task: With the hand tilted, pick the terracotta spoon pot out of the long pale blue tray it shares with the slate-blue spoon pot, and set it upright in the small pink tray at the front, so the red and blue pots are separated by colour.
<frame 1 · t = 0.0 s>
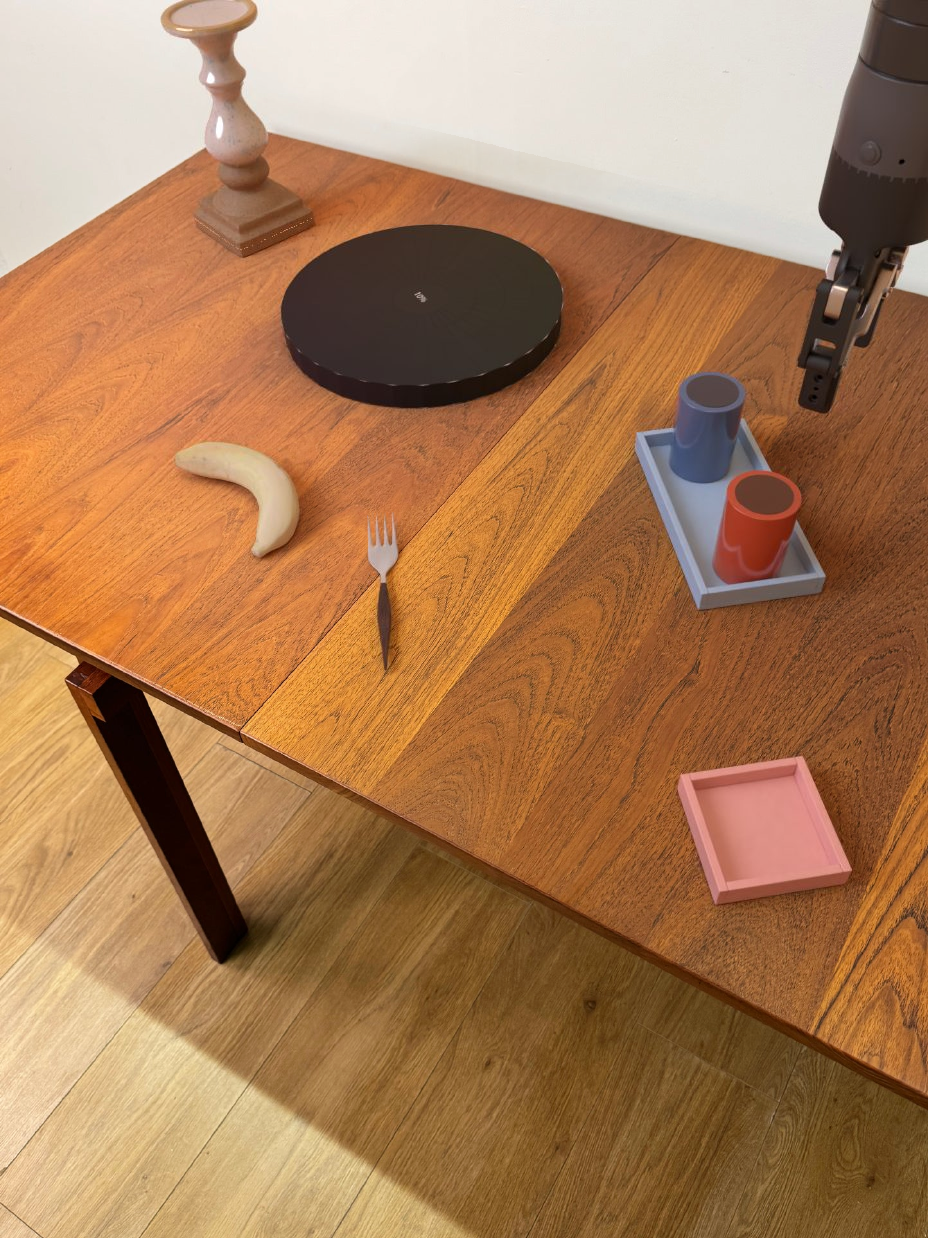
hand: (834, 374, 70), 18 cm above the table, tool pointing down, fingers open, 8 cm apart
candle holder: (255, 226, 123), on the table
blue tray: (720, 515, 87), on the table
fruit: (239, 503, 91), on the table
blue spoon pot: (699, 462, 91), resting on blue tray
pink tray: (757, 834, 67), on the table
red spoon pot: (746, 565, 82), resting on blue tray
disc: (423, 322, 108), on the table
fork: (384, 599, 83), on the table
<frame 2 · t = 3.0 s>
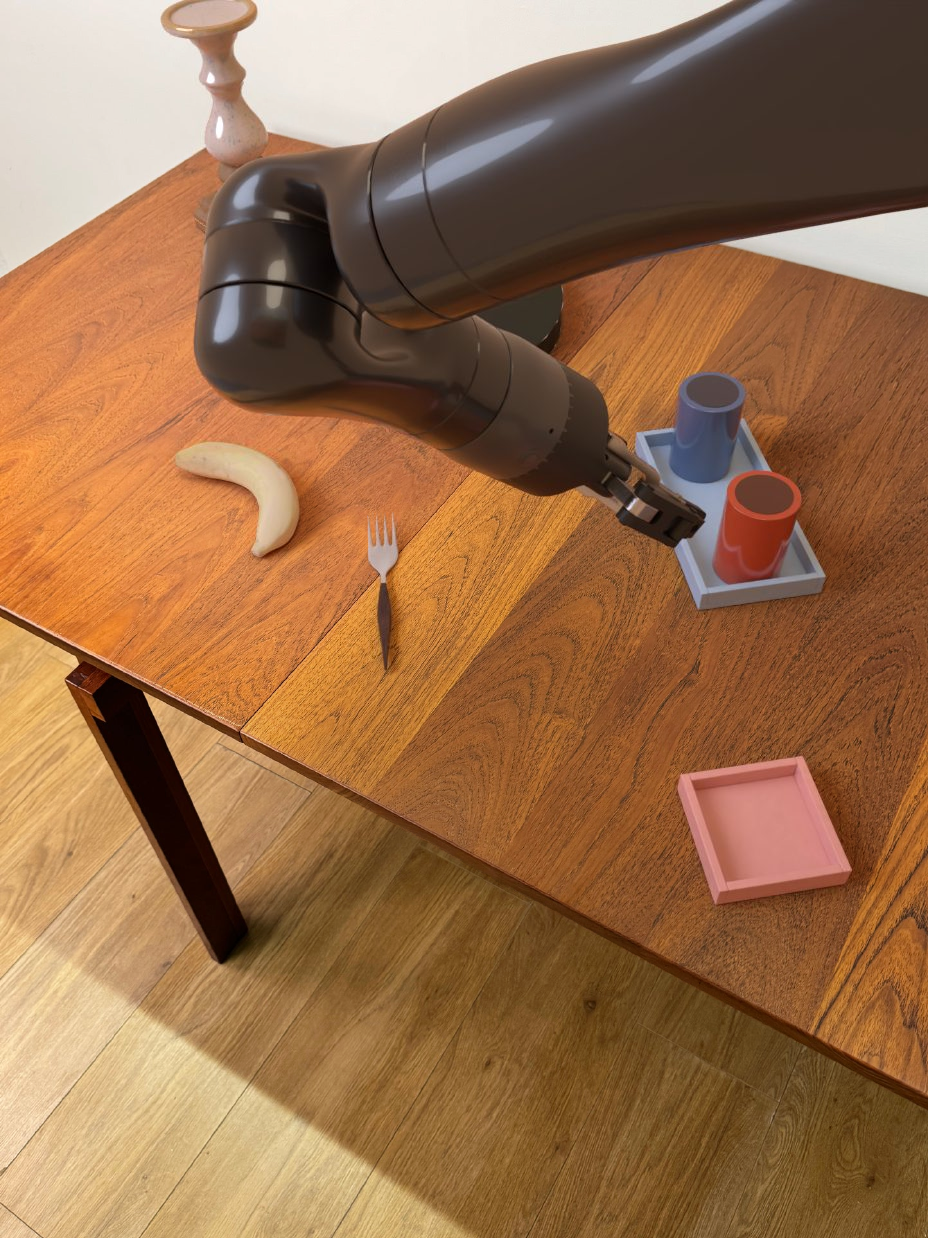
hand: (654, 487, 68), 15 cm above the table, tool tilted 45°, fingers open, 8 cm apart
nothing on the table moved.
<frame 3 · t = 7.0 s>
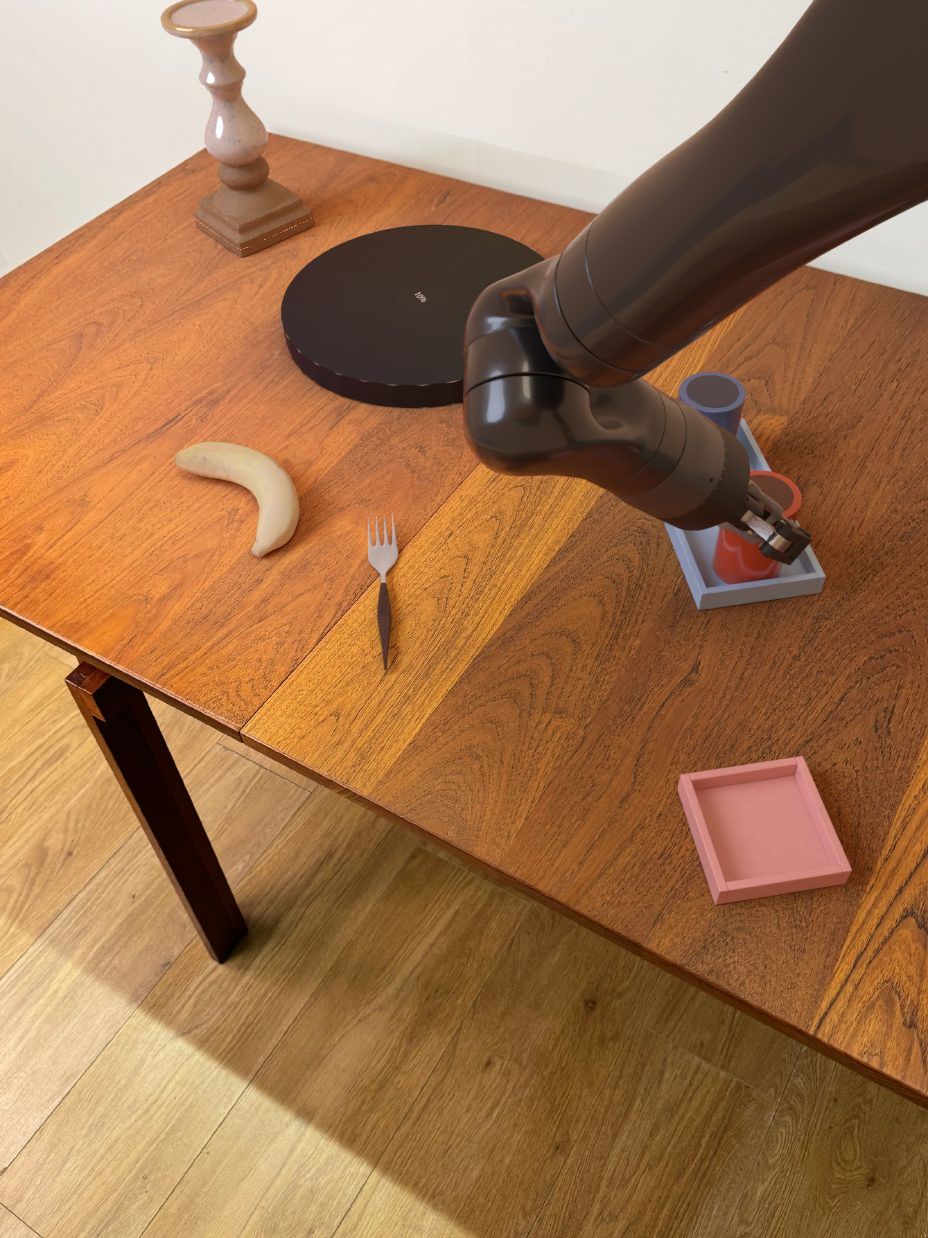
hand: (772, 520, 80), 5 cm above the table, tool tilted 45°, fingers closed on red spoon pot, 5 cm apart
red spoon pot: (746, 565, 82), point 1 cm above the table, touching blue tray, gripper
everything else where it was.
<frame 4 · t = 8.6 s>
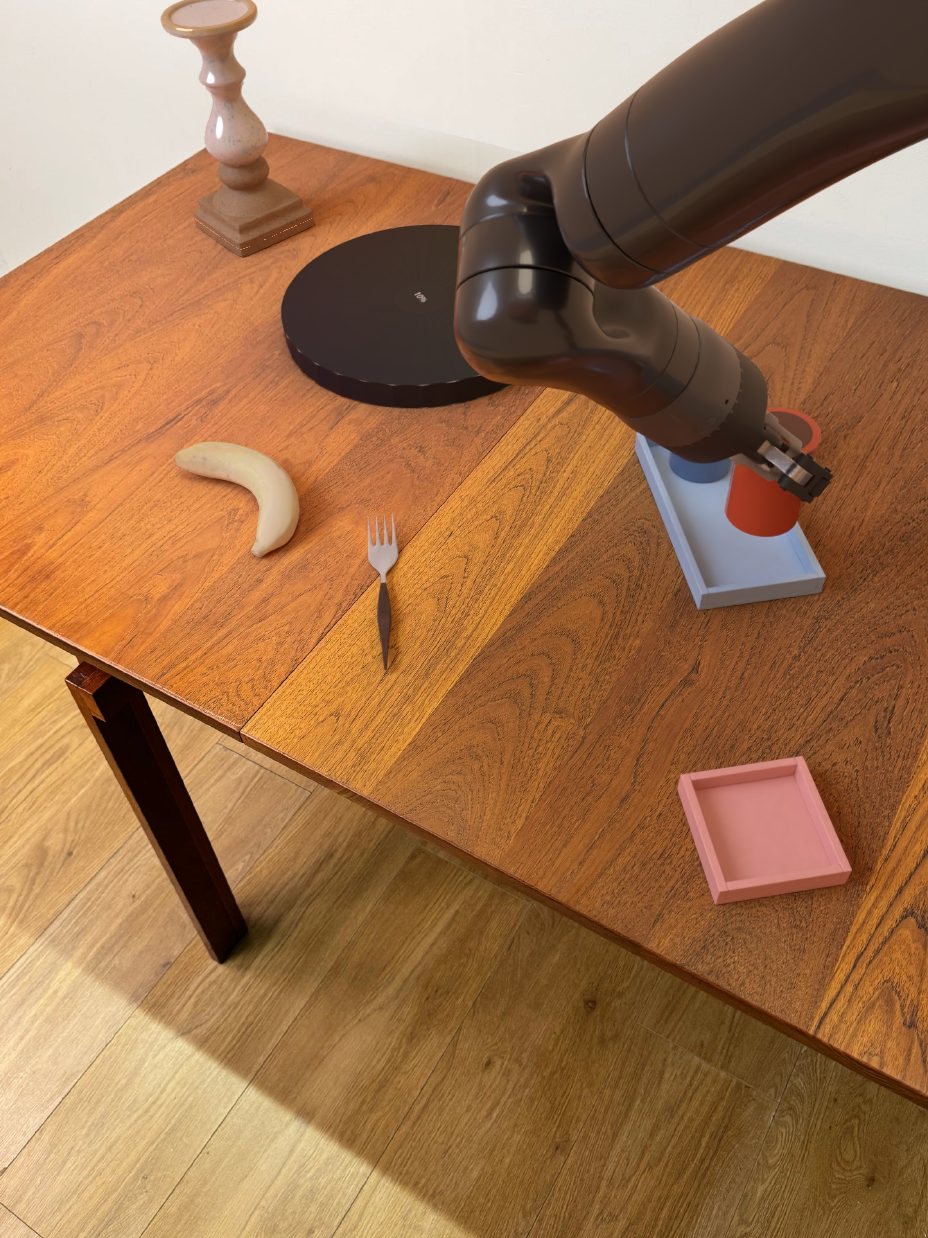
hand: (788, 461, 75), 11 cm above the table, tool tilted 45°, fingers closed on red spoon pot, 5 cm apart
red spoon pot: (761, 511, 78), point 7 cm above the table, touching gripper
everything else where it was.
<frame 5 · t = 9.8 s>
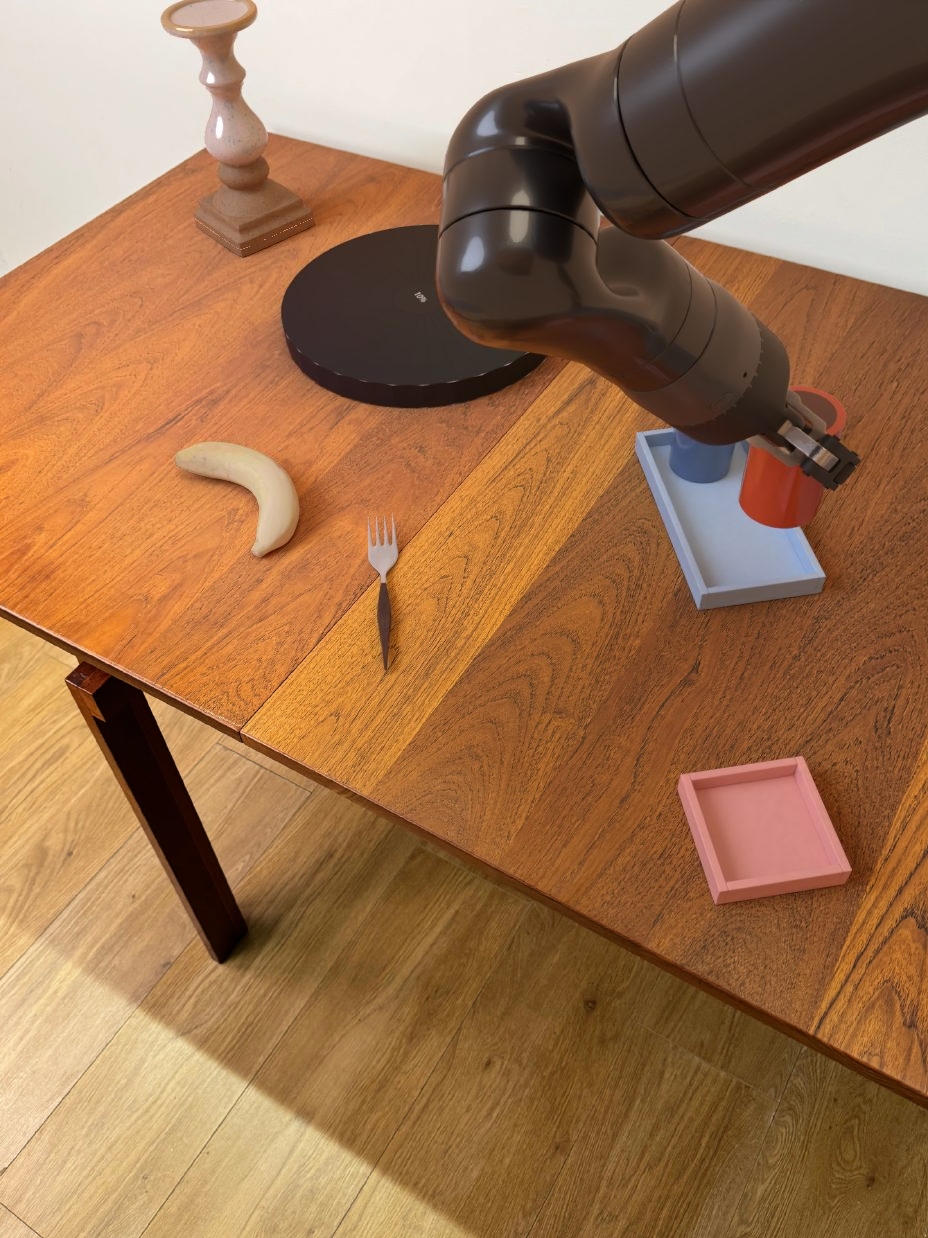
hand: (809, 446, 68), 16 cm above the table, tool tilted 45°, fingers closed on red spoon pot, 5 cm apart
red spoon pot: (778, 501, 71), point 12 cm above the table, touching gripper
everything else where it was.
when the fingers open (5 cm above the table, at t = 16.1 s): red spoon pot stays where it is, resting on pink tray.
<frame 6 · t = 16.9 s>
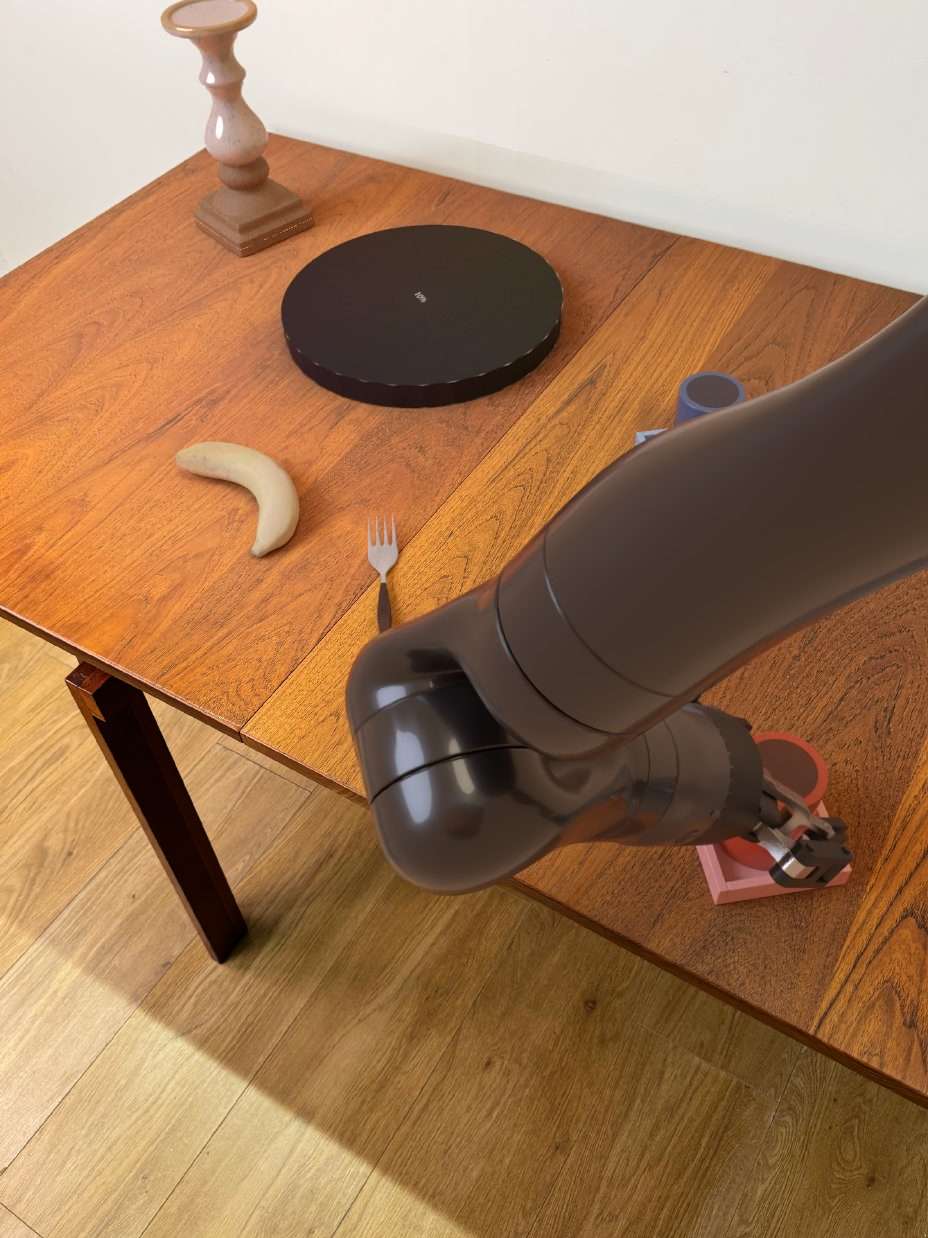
hand: (784, 782, 63), 6 cm above the table, tool tilted 45°, fingers open, 8 cm apart
red spoon pot: (757, 832, 67), resting on pink tray
everything else where it was.
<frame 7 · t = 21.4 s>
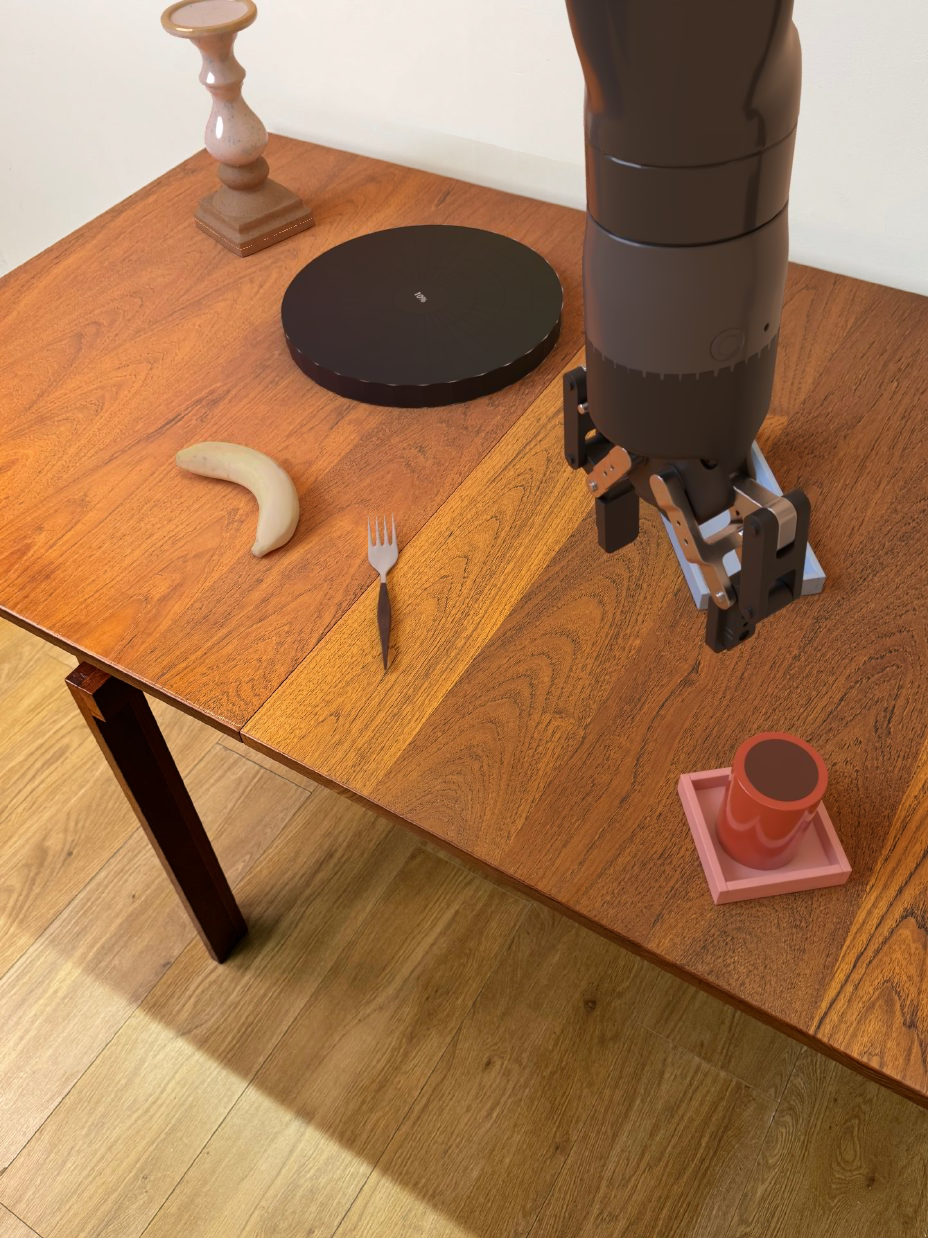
hand: (669, 589, 51), 24 cm above the table, tool pointing down, fingers open, 8 cm apart
nothing on the table moved.
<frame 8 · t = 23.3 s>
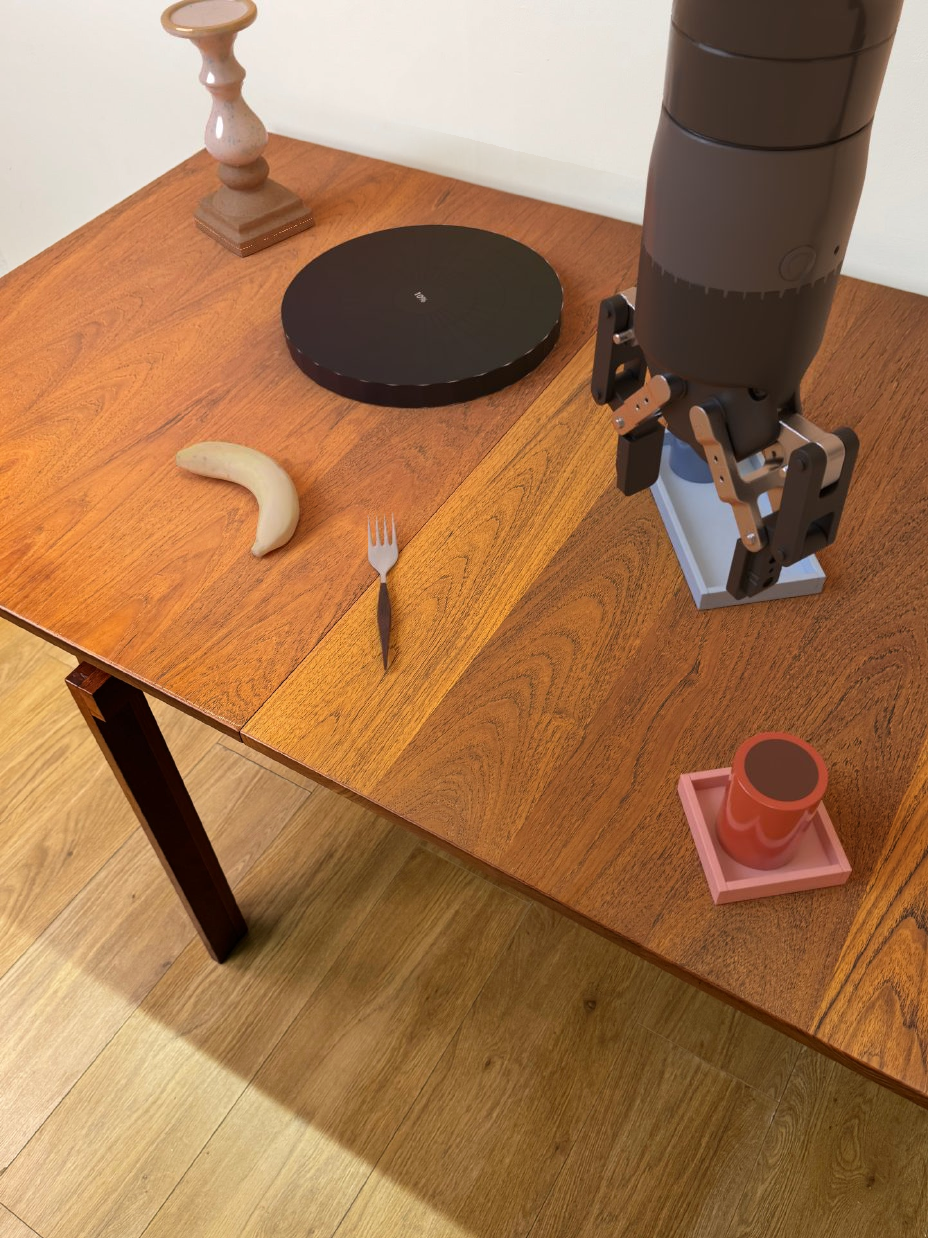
hand: (688, 535, 50), 26 cm above the table, tool pointing down, fingers open, 8 cm apart
nothing on the table moved.
at the end: red spoon pot 0.1 cm off-centre in the pink tray, point 0.5 cm above the pink tray's base; red spoon pot tilted 0°; blue spoon pot inside the target area in the blue tray (6.5 cm from its centre), point 0.5 cm above the blue tray's base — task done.
